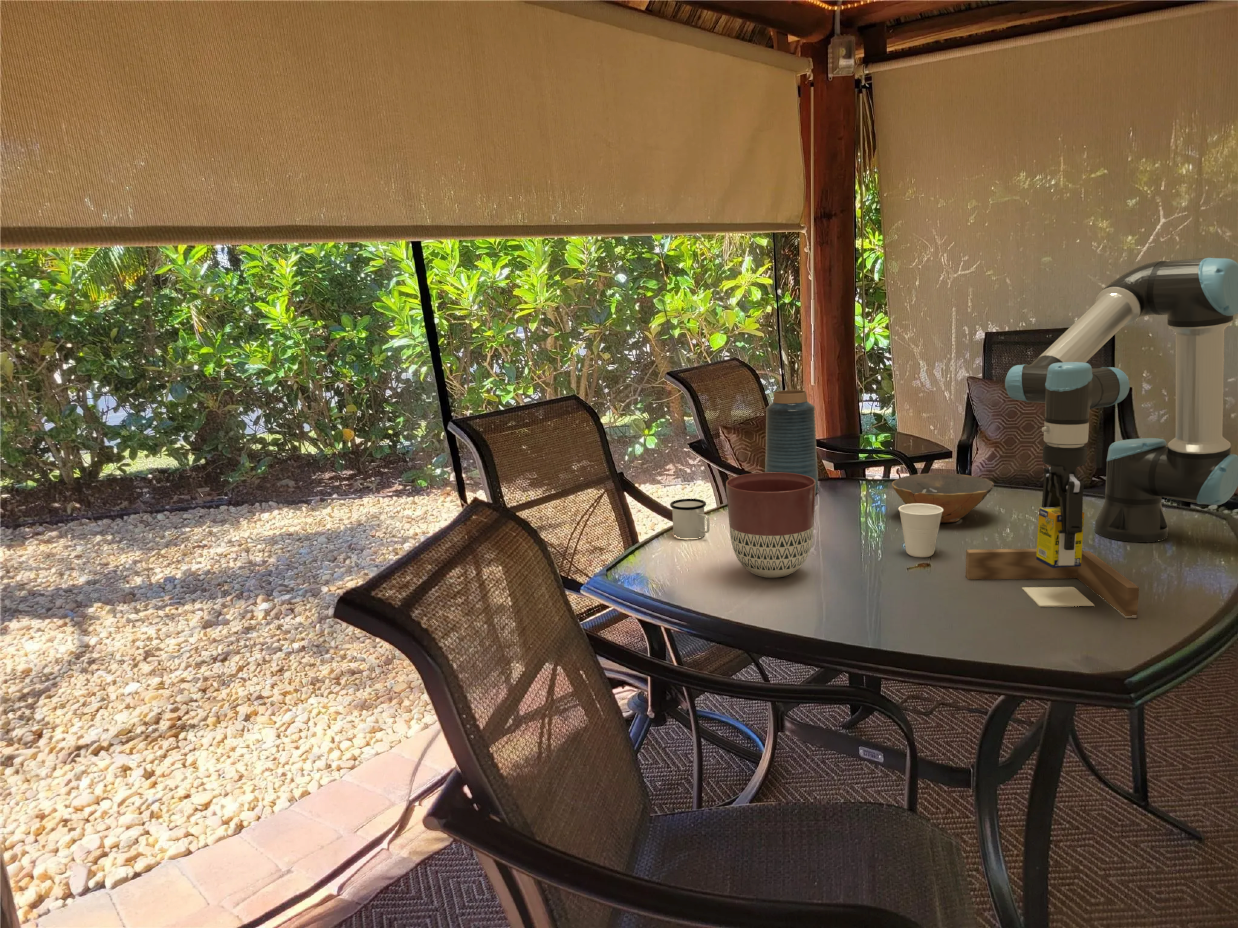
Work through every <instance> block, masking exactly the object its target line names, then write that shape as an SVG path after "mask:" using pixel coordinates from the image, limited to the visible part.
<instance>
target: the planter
mask: <svg viewBox="0 0 1238 928" xmlns="http://www.w3.org/2000/svg"><path fill="white" fill-rule="evenodd" d="M725 489H726V490H725V491H726V501H727V502H726V503H727V512H728V515H727V516H728V524H729V533H730V535H729V536H730V543H731V545H732V549H733V552H734V555H735V557H736V559H737V560H738V562H739V563H740V564H741V565H742V566H743V567H744V568H745V569H746V570H747V571H749V572H750V573H751V574H753V575H757V576H759V577H763V578H766V579H776V578H782V577H783V578H784V577H787V576H789V575H790V574H793V573H795V572H796V571H798V569H800V568H801V567H802V566H803V565H804V563H805V562H806V561H807V559H808V557H809V555H810V553H811V549H812V545H813V539H814V527H815V509H816V507H815V506H816V505H815V503H816V494H815V490H816V481H815V480H814V479H813V478H811V477H809V476H805V475H801V474H795V473H784V472H765V471H764V472H753V473H745V474H741V475H737V476H733V477H731V478H729V479H727V480H726V481H725Z"/></svg>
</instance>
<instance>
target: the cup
mask: <svg viewBox="0 0 1238 928" xmlns="http://www.w3.org/2000/svg"><path fill="white" fill-rule="evenodd" d="M898 511H899V515H900V521H901V528H902V534H903V540H904V546H905V553H906V554H908V555H909V556H911V557H915V558H928V557H931V556H932V555H934V553H935V549H936V543H937V538H938V533H939V530H940V525H941V522H940V521H941V516H942V512H943V511H944V510H943V508H941V507H940V506H936V505H932V504H922V503H915V504H903V505H900V506H899V507H898Z"/></svg>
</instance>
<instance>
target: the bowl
mask: <svg viewBox="0 0 1238 928" xmlns="http://www.w3.org/2000/svg"><path fill="white" fill-rule="evenodd" d="M994 485H995V484H994V482H993V481H991V480H989V479H987V478H984V477H979V476H974V475H968V474H960V473H918V474H910V475H906V476H902V477H899V478H897V479H895V480H894V481H892V483H891V486H892V488H893V490H894V491H895V493H896V494H897V495H898V497H899V498H900V499H901V501H902V502H903V503H904V505H906V504H915V503H922V504H932V505H936V506H940V507H941V508H943V510H944V511H943V512H942V516H941V521H940V523H955V522H959V521H960V520H961V519H962V518H964V517H965V516H966V515H967V514H969V513H970V512H972V511H973V510H974V509H975V508H976V507H977V506H978V505H979V504H980V503H981V502H983V500H984V499H985V498H986V497H987V495H988V494H990V492H991V491H992V490H993V488H994V487H995V486H994Z"/></svg>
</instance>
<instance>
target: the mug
mask: <svg viewBox="0 0 1238 928" xmlns="http://www.w3.org/2000/svg"><path fill="white" fill-rule="evenodd" d="M706 505H707V502H706V501H705V500H703V499H699V498H682V499H681V498H680V499H675V500H673V501H671V502H670V503H669V507H670V508H671V509H672V513H671V514H672V533H673V534H674V535H676V536H677V537H680V538H699V537H702V538H704V537H705V536H706V534H707V533H709V532H710V527H711V526H710V525H711V524H710V516H709V515H707V514H705V507H706ZM705 518H706V520H705ZM705 521H706V523H705ZM704 535H705V536H704ZM703 536H704V537H703Z"/></svg>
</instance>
